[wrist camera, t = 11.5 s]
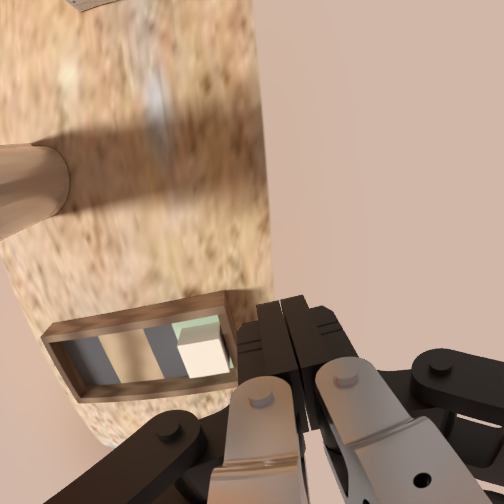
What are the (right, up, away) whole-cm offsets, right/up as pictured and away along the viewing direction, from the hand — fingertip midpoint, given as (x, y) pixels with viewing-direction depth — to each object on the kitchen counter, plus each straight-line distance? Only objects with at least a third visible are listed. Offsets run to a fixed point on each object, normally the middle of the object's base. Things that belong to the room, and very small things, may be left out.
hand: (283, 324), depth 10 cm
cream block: (-7, -9, +30) cm, 32 cm away
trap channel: (-16, -11, +31) cm, 36 cm away
